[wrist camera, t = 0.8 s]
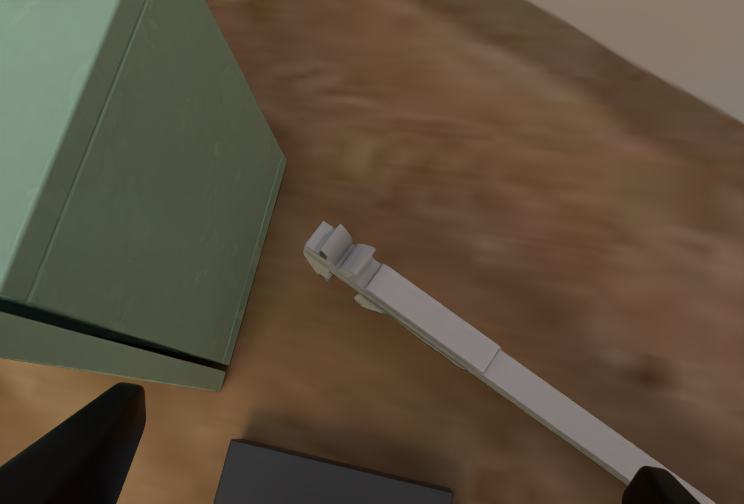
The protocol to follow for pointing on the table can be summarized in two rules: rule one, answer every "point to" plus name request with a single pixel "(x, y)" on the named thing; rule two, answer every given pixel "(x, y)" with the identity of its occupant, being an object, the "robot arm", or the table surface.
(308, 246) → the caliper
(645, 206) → the table surface
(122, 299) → the cabinet
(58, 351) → the cabinet door
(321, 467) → the button block
